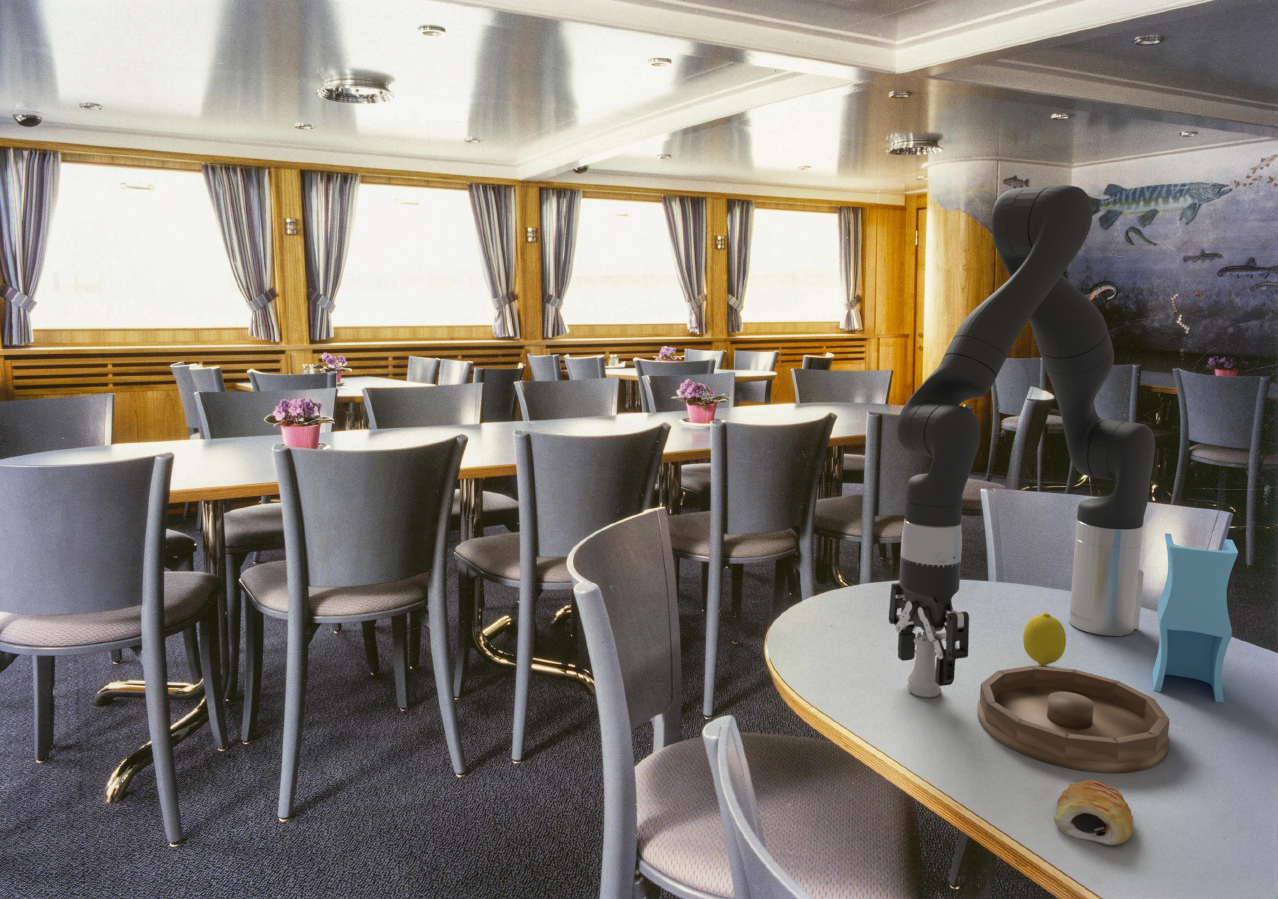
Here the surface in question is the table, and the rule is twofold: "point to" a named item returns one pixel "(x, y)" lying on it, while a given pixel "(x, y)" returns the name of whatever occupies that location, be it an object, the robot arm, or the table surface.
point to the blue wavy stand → (1194, 615)
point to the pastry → (1094, 813)
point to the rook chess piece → (924, 669)
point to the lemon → (1044, 639)
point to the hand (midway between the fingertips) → (924, 671)
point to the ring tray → (1074, 748)
